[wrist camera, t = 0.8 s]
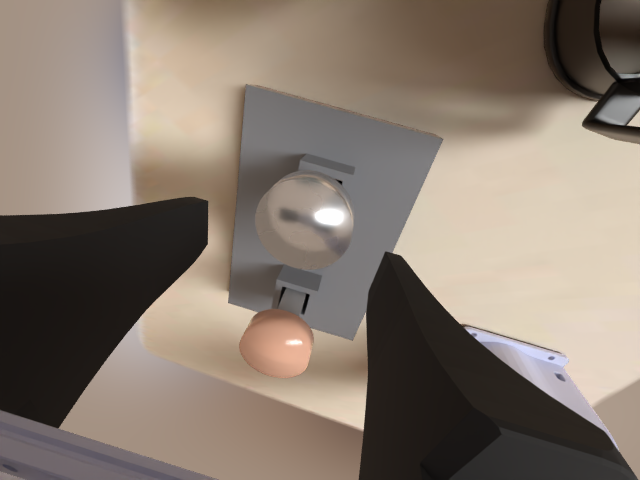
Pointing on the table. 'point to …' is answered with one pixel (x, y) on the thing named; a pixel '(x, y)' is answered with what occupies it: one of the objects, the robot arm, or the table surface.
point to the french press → (590, 68)
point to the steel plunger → (306, 220)
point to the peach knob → (279, 338)
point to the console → (358, 180)
